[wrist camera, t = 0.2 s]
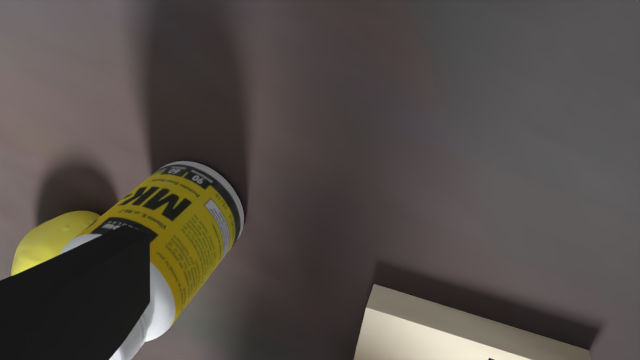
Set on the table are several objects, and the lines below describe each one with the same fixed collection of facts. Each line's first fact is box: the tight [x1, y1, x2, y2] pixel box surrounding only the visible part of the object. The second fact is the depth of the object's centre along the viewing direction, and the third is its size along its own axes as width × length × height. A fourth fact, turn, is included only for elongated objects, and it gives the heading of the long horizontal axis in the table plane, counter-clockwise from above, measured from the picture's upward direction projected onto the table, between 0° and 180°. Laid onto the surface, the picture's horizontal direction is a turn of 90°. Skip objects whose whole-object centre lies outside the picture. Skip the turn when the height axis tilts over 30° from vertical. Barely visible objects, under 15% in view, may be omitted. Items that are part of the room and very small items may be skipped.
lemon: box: [11, 211, 100, 276], centre depth 26 cm, size 4×8×4 cm, turn 137°
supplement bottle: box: [60, 161, 244, 360], centre depth 20 cm, size 5×5×8 cm
